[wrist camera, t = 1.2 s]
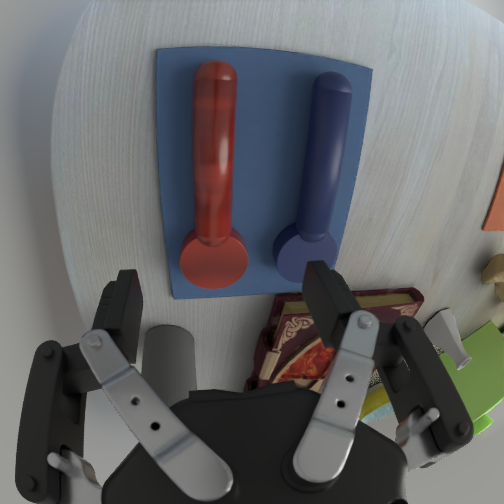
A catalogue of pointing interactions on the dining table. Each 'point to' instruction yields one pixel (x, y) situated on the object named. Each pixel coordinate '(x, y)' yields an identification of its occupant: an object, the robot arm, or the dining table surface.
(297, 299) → the book
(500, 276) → the cat figurine
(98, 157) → the dining table surface
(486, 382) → the canister
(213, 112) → the red spoon
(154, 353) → the bottle
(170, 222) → the blue mat
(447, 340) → the flask
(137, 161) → the dining table surface
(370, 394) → the bowl
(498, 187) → the red mat
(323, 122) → the blue spoon
